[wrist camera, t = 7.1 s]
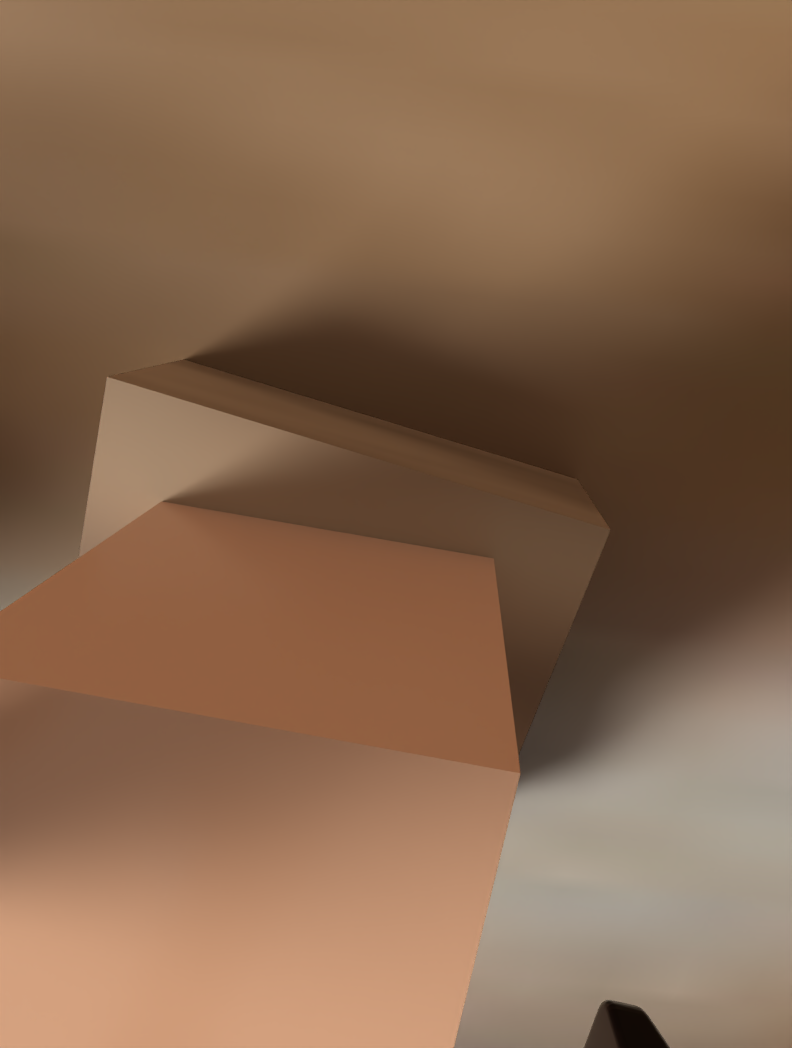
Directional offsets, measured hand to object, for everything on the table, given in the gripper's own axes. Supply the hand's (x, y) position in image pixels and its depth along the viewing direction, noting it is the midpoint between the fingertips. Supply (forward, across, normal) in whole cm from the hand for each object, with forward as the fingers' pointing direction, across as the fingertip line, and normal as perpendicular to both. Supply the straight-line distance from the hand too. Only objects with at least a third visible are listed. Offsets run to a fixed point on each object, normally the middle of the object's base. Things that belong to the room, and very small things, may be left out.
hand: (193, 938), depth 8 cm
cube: (+6, 0, 0) cm, 6 cm away
